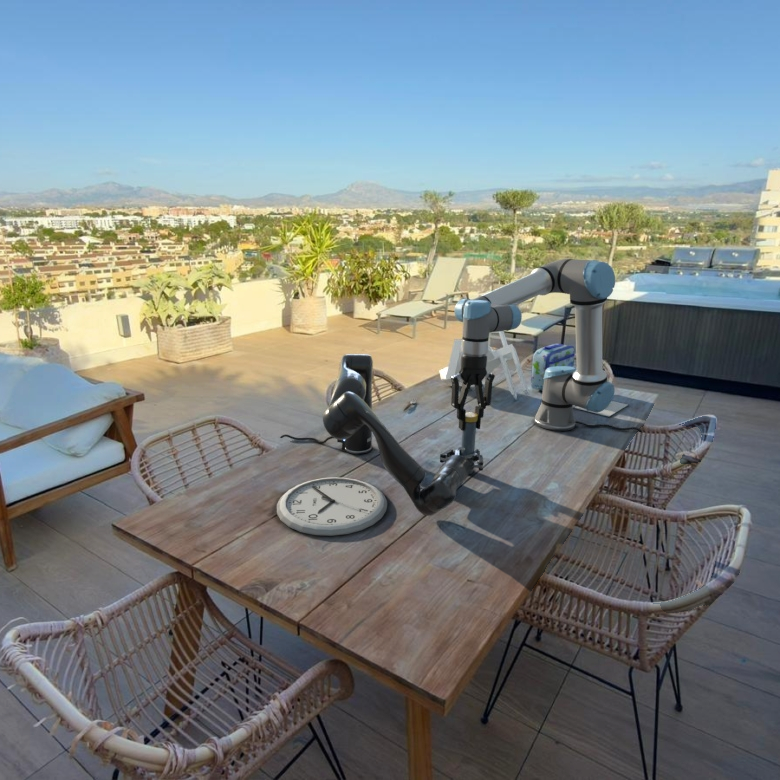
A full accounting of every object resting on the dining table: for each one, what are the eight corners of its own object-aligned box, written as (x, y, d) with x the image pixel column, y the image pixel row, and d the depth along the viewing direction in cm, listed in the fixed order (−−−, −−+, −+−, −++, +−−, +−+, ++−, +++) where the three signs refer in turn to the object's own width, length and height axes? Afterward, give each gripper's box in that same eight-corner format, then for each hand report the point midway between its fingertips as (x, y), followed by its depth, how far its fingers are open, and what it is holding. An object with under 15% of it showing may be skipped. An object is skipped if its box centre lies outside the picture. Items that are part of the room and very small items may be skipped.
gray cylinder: (467, 467, 167) (470, 413, 161) (475, 472, 164) (479, 417, 158) (457, 470, 165) (460, 415, 159) (465, 475, 162) (469, 419, 156)
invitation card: (608, 416, 214) (573, 407, 224) (608, 416, 214) (573, 408, 224) (628, 404, 229) (594, 396, 238) (628, 405, 229) (594, 397, 238)
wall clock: (392, 527, 129) (268, 531, 127) (391, 533, 130) (269, 537, 127) (383, 473, 158) (282, 475, 155) (383, 478, 158) (282, 480, 156)
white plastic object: (461, 429, 252) (437, 405, 227) (444, 352, 274) (420, 323, 250) (535, 404, 240) (518, 377, 215) (510, 326, 262) (492, 293, 237)
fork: (400, 411, 216) (400, 406, 215) (412, 399, 230) (412, 395, 230) (406, 412, 215) (406, 407, 215) (418, 400, 230) (418, 396, 229)
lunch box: (547, 395, 239) (552, 351, 233) (526, 390, 247) (530, 347, 240) (574, 384, 257) (579, 343, 251) (554, 380, 264) (558, 339, 258)
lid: (463, 416, 162) (464, 411, 161) (478, 418, 160) (479, 413, 160) (460, 421, 158) (461, 415, 157) (475, 423, 156) (476, 418, 156)
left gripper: (478, 465, 146) (493, 443, 161) (430, 455, 152) (449, 435, 167) (476, 489, 148) (491, 465, 163) (429, 479, 154) (447, 457, 169)
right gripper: (495, 349, 159) (489, 421, 166) (441, 352, 154) (438, 426, 161) (507, 355, 152) (500, 430, 159) (451, 358, 147) (447, 435, 154)
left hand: (469, 450), depth 165 cm, fingers closed on gray cylinder, 4 cm apart
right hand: (469, 428), depth 160 cm, fingers closed on lid, 4 cm apart
